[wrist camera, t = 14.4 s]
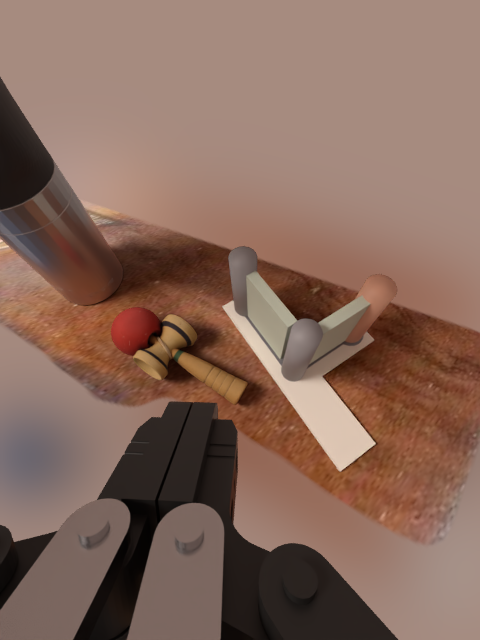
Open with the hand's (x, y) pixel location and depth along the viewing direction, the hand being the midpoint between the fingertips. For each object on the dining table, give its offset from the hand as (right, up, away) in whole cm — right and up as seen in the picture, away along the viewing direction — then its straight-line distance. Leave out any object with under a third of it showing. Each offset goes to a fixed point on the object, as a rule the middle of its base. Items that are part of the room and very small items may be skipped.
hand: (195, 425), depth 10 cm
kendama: (-6, -2, +29) cm, 29 cm away
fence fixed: (+5, +1, +29) cm, 29 cm away
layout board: (+11, 0, +28) cm, 30 cm away
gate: (+13, 0, +28) cm, 31 cm away
